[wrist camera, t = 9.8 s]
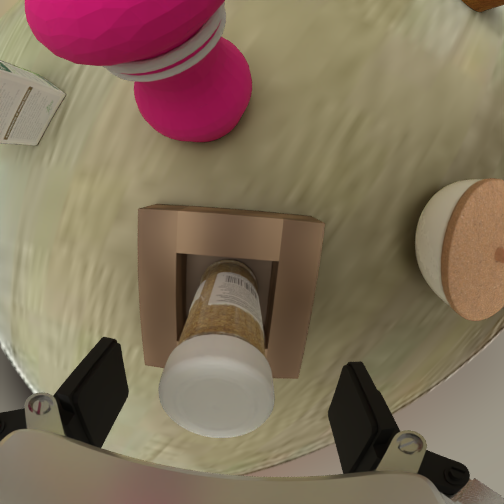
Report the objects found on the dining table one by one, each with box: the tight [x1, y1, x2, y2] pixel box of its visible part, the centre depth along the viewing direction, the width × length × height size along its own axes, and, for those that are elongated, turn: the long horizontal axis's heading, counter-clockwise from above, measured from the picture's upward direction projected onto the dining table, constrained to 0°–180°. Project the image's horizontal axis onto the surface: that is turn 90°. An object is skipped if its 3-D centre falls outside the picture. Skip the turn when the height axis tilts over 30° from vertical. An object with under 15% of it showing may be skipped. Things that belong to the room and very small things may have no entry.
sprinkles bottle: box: [159, 260, 275, 438], centre depth 16 cm, size 5×5×13 cm
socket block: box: [138, 204, 325, 378], centre depth 21 cm, size 12×12×4 cm
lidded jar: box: [415, 178, 504, 321], centre depth 18 cm, size 11×11×9 cm
